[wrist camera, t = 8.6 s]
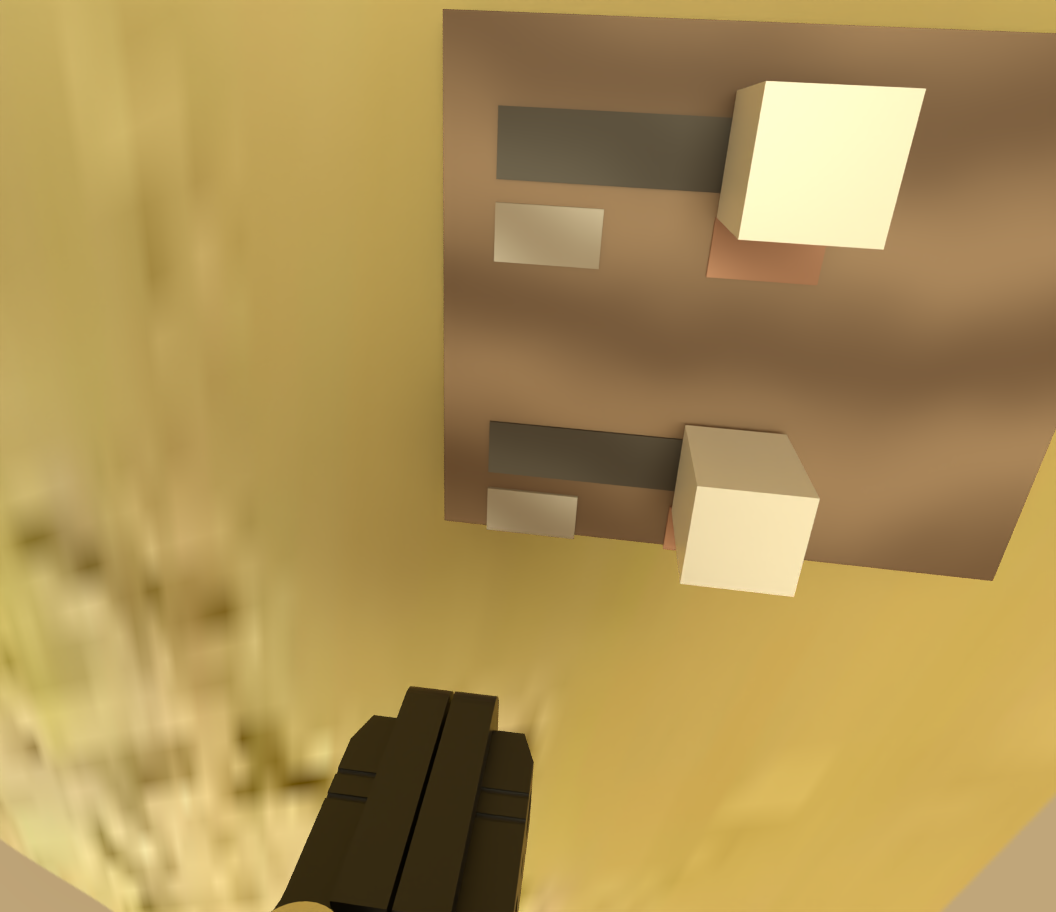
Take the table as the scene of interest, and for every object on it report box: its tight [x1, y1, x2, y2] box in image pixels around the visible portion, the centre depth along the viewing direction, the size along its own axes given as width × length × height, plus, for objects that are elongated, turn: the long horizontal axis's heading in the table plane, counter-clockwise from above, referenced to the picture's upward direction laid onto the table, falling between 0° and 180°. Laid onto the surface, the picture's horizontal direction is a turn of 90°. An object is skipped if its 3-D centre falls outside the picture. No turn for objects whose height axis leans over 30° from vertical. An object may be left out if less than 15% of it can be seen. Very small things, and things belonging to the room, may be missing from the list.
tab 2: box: [717, 81, 926, 250], centre depth 16 cm, size 3×3×4 cm
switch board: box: [443, 9, 1056, 581], centre depth 21 cm, size 15×18×2 cm
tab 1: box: [672, 425, 820, 597], centre depth 20 cm, size 3×3×4 cm
